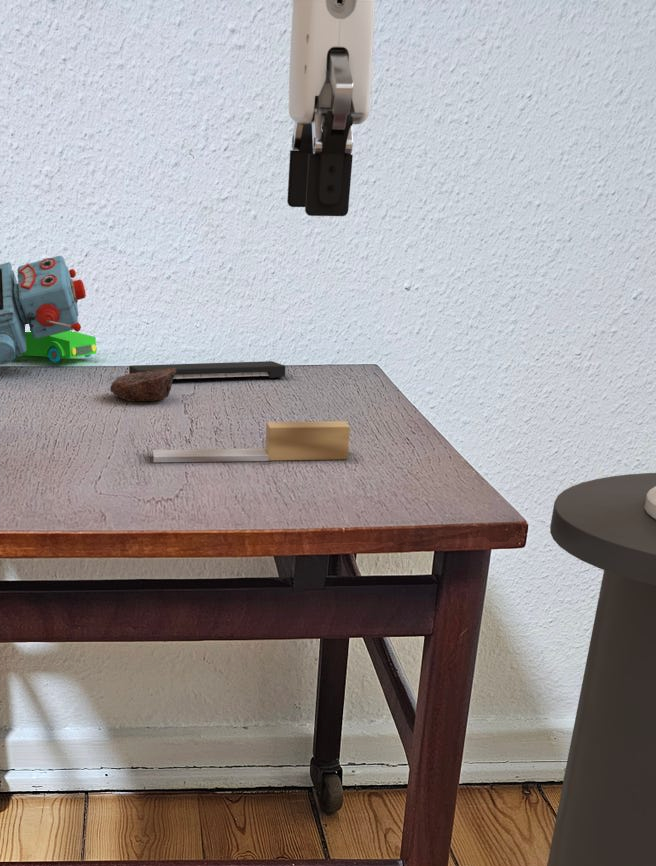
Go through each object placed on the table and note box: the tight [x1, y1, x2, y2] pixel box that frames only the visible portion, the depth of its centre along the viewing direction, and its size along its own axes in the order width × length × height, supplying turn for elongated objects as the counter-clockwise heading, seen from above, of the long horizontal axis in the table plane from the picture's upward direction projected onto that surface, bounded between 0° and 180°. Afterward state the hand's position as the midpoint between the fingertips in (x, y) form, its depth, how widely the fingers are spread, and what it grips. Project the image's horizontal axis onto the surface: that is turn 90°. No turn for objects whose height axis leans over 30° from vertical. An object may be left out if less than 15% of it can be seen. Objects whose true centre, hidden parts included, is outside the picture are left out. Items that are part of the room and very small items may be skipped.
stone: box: [109, 368, 176, 402], centre depth 126 cm, size 7×7×3 cm
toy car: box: [13, 330, 98, 363], centre depth 147 cm, size 11×7×7 cm, turn 58°
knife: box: [151, 420, 351, 464], centre depth 103 cm, size 17×3×3 cm, turn 93°
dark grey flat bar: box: [128, 360, 287, 380], centre depth 137 cm, size 18×1×5 cm
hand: (316, 211), depth 94 cm, fingers open, 9 cm apart
